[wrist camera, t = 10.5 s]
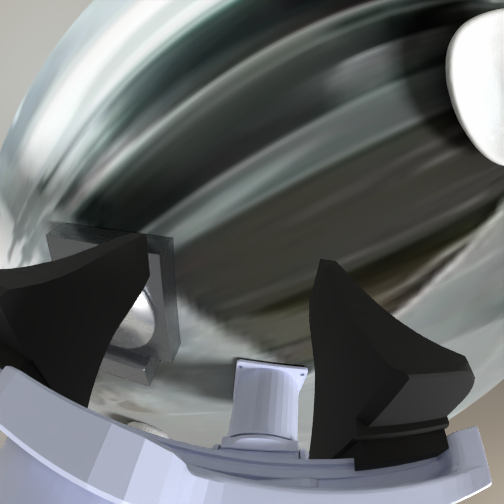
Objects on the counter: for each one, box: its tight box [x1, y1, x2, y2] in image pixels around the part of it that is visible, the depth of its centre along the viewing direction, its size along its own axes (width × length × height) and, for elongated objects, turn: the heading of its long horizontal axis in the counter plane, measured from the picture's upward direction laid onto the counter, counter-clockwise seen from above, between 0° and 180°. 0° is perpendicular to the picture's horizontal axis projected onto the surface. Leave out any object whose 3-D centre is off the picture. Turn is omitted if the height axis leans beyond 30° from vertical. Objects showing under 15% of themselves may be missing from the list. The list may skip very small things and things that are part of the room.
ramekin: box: [127, 421, 169, 439], centre depth 43 cm, size 11×11×5 cm
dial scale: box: [46, 223, 181, 386], centre depth 25 cm, size 16×13×5 cm
